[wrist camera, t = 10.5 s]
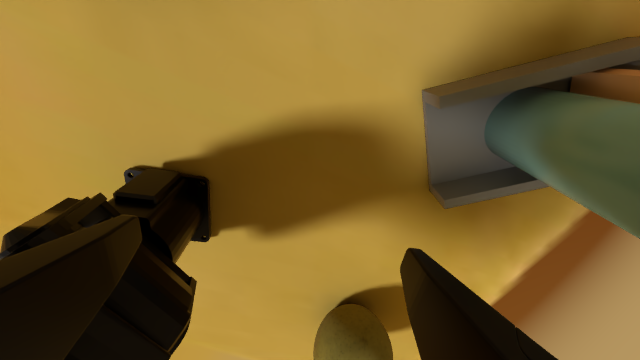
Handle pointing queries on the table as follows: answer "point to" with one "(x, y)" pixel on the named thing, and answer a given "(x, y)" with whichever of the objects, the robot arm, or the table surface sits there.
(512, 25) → the table surface
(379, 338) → the apple
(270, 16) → the table surface
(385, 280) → the table surface
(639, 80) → the plate
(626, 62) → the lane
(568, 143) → the jar
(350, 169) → the table surface
